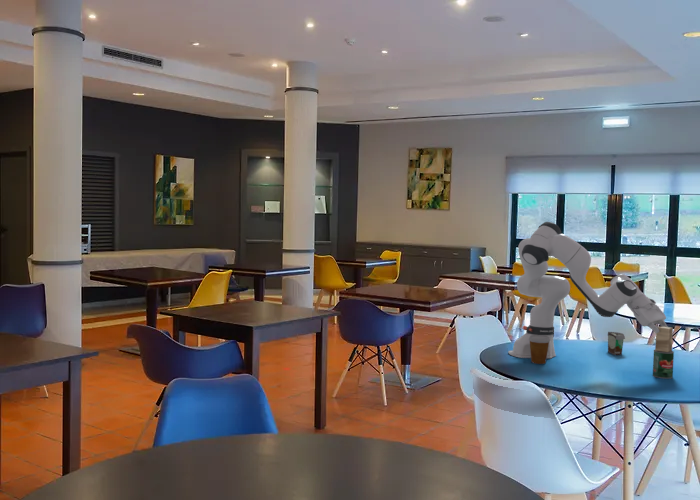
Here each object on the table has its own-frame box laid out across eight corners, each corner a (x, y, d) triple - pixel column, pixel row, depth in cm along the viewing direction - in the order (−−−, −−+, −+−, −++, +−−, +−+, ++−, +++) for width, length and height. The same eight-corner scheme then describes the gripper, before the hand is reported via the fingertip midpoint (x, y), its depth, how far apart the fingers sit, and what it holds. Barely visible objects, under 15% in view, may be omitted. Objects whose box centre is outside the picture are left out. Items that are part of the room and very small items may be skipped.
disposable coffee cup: (550, 365, 312) (551, 339, 312) (528, 363, 314) (529, 337, 314) (548, 361, 322) (549, 335, 321) (527, 359, 323) (528, 334, 323)
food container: (628, 356, 339) (629, 335, 339) (615, 355, 340) (616, 335, 339) (619, 351, 352) (619, 331, 351) (606, 351, 352) (607, 331, 351)
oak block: (667, 352, 291) (668, 328, 291) (655, 350, 295) (656, 327, 295) (671, 350, 295) (672, 327, 295) (659, 349, 299) (660, 326, 298)
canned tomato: (666, 379, 289) (667, 353, 289) (648, 375, 296) (649, 350, 295) (676, 377, 294) (677, 351, 294) (658, 373, 300) (659, 348, 300)
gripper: (636, 303, 293) (659, 329, 287) (655, 299, 308) (677, 324, 301) (625, 312, 296) (647, 338, 290) (644, 308, 311) (666, 333, 305)
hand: (662, 331), depth 296 cm, fingers open, 8 cm apart
